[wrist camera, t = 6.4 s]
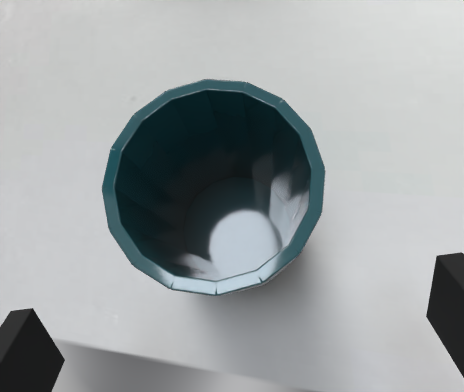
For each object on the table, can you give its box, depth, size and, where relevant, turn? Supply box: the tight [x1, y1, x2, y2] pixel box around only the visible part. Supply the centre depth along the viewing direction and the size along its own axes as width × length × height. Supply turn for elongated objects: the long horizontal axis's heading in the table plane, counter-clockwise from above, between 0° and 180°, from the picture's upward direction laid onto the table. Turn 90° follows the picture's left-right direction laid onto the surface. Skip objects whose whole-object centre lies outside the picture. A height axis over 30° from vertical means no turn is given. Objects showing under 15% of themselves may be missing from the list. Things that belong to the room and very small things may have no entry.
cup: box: [102, 79, 325, 296], centre depth 17 cm, size 7×7×11 cm
